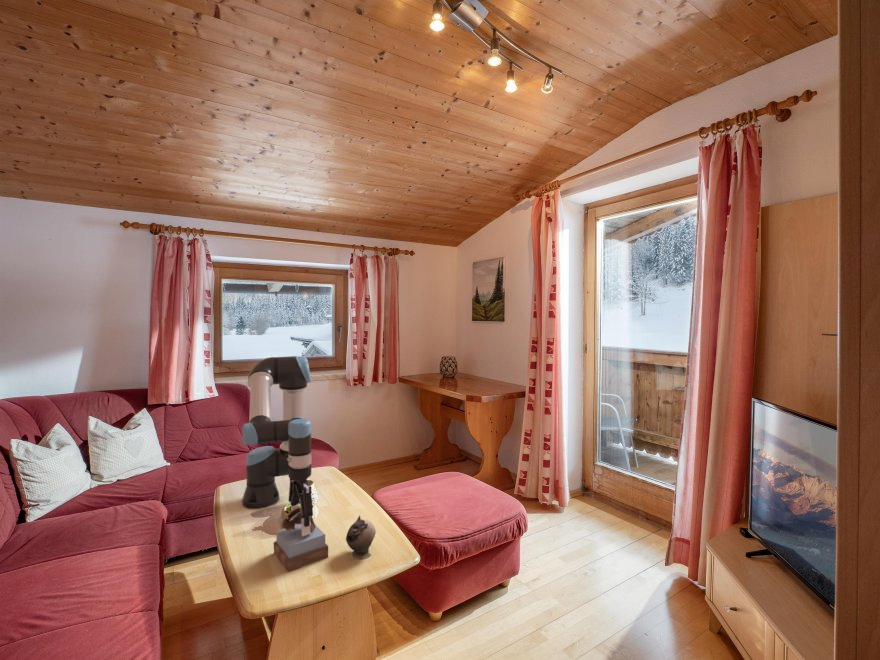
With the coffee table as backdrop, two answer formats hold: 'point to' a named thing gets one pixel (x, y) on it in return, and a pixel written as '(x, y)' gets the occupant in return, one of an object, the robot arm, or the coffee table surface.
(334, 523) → the coffee table surface
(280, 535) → the top brick
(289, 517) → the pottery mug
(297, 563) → the base brick
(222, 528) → the coffee table surface
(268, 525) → the coffee table surface
